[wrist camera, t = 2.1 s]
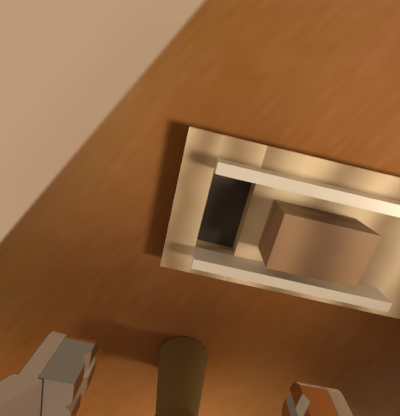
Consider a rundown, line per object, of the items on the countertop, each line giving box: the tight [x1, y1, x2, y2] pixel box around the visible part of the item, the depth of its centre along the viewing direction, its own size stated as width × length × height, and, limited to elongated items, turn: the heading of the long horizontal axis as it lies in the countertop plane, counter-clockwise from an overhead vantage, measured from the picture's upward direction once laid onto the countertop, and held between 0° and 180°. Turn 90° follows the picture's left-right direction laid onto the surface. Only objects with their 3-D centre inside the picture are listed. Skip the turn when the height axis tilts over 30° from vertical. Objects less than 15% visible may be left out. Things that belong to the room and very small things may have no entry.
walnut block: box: [258, 199, 381, 288], centre depth 24 cm, size 8×5×4 cm, turn 77°
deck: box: [160, 126, 400, 319], centre depth 27 cm, size 34×14×2 cm, turn 77°
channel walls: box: [191, 158, 400, 312], centre depth 25 cm, size 19×10×2 cm, turn 77°
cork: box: [155, 336, 207, 416], centre depth 29 cm, size 6×6×11 cm
